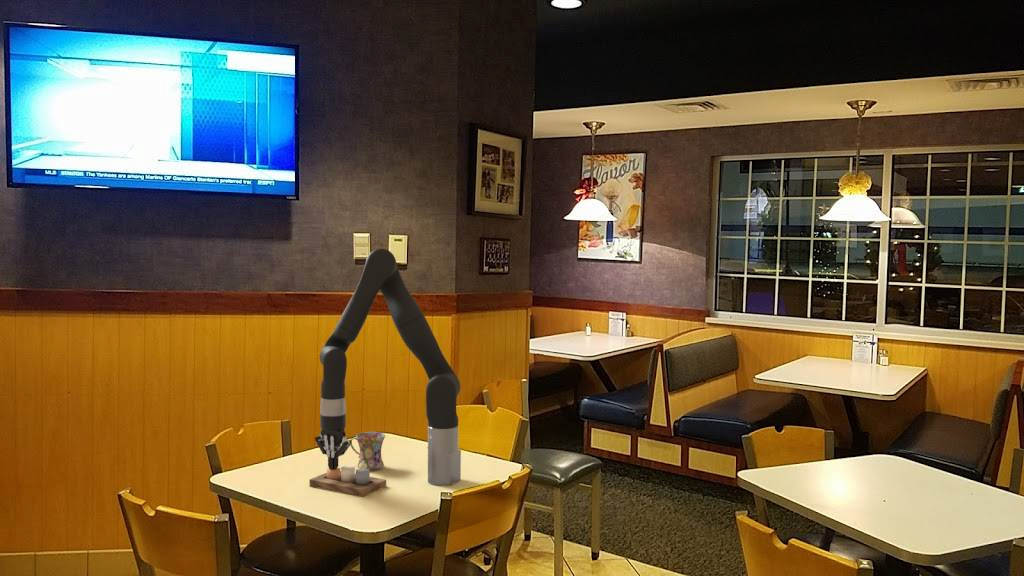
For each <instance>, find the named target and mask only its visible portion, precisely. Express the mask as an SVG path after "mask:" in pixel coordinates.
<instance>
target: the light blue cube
mask: <svg viewBox="0 0 1024 576" xmlns="http://www.w3.org/2000/svg"><path fill="white" fill-rule="evenodd" d="M370 471H371V470H369V469H364V468H363V469H360V468H358V469H355V474H356V484H357V485H362V486H365V485H367V484H370V477H371V476H370V474H371V473H370Z"/></svg>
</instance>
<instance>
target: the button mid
mask: <svg viewBox="0 0 1024 576" xmlns="http://www.w3.org/2000/svg"><path fill="white" fill-rule="evenodd" d="M340 471H341V482H346V483H350V482H353V481H355V474H356V468H355V466H353V465H344V466H341V468H340Z"/></svg>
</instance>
